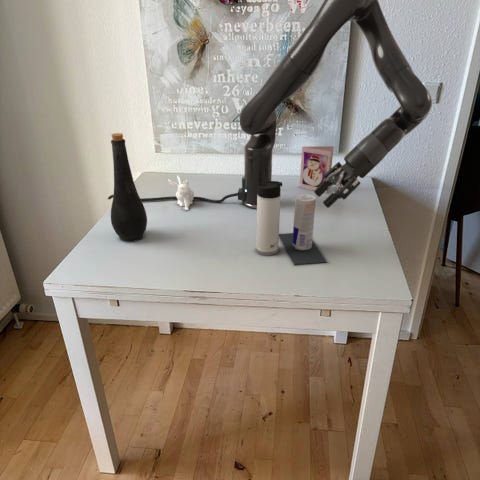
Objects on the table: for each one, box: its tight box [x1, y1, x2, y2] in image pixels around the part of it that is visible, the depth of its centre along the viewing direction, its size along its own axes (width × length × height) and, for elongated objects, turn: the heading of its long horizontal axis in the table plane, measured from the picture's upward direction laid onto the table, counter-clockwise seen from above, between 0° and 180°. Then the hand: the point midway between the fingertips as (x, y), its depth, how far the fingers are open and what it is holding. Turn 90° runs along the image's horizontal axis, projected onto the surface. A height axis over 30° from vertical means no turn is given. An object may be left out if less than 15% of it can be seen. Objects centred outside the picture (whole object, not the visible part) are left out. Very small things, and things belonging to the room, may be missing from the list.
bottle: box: [110, 132, 148, 243], centre depth 140 cm, size 11×11×30 cm
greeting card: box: [299, 146, 335, 194], centre depth 180 cm, size 11×7×15 cm, turn 55°
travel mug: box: [256, 180, 283, 256], centre depth 135 cm, size 6×7×20 cm
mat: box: [279, 232, 327, 266], centre depth 142 cm, size 20×9×1 cm, turn 9°
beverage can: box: [292, 193, 317, 250], centre depth 137 cm, size 6×6×15 cm
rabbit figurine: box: [167, 175, 195, 211], centre depth 169 cm, size 12×8×10 cm, turn 170°
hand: (320, 199), depth 134 cm, fingers open, 8 cm apart
